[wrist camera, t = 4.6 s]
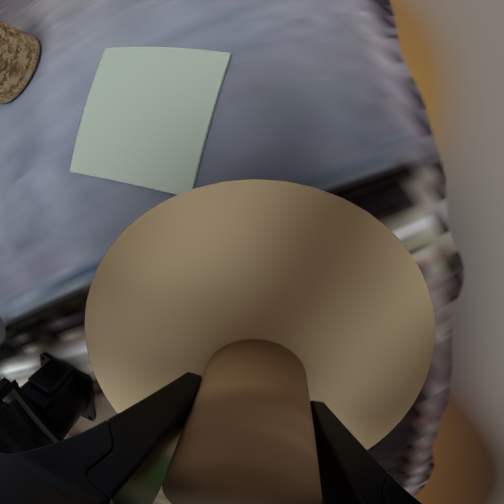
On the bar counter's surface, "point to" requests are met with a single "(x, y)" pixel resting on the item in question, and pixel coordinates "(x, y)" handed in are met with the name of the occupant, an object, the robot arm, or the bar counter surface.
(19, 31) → the camo cylindrical pouch
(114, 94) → the mat
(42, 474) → the robot arm
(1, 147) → the bar counter surface
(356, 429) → the lid
